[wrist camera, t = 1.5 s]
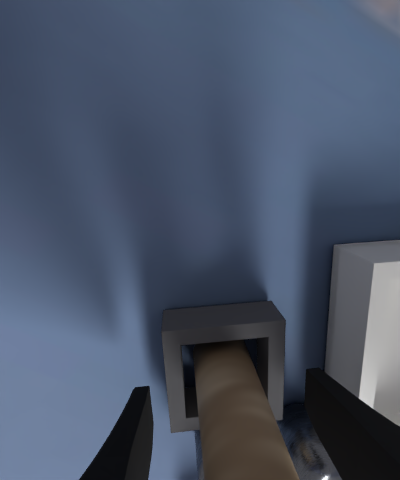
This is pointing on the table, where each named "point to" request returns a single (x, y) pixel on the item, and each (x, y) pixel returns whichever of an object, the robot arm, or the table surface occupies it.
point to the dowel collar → (216, 330)
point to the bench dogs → (295, 446)
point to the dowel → (236, 417)
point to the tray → (366, 324)
